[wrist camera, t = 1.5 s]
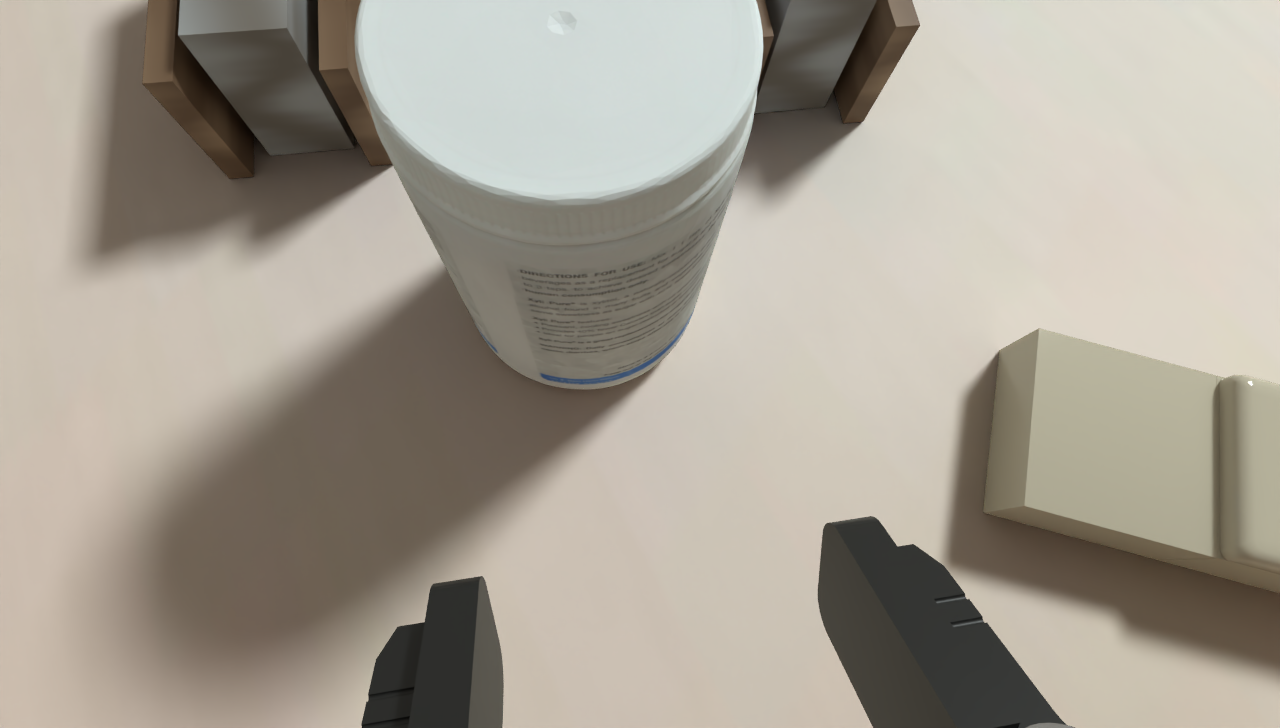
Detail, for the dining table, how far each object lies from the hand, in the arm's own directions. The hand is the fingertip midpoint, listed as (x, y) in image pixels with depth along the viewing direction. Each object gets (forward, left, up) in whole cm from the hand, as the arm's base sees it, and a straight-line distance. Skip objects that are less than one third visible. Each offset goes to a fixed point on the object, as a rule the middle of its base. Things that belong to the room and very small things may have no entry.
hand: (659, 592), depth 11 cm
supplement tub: (0, +12, -16) cm, 20 cm away
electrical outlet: (+25, 0, -16) cm, 29 cm away
